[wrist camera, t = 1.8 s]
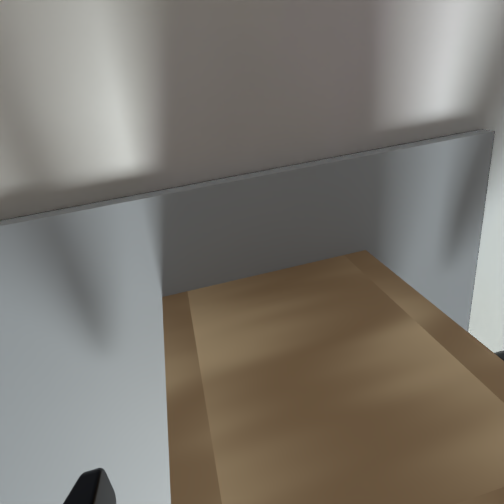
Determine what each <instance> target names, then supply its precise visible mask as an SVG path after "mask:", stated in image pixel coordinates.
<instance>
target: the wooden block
mask: <svg viewBox="0 0 504 504" xmlns="http://www.w3.org/2000/svg"><path fill="white" fill-rule="evenodd" d="M162 306H163V330H164V353H165V377H166V400H167V423H168V447H169V470H170V493H171V504H504V361H503V360H502V359H501V358H499V357H498V356H497V355H496V354H494V353H493V352H492V351H491V350H489V349H488V348H487V347H486V346H484V345H483V344H482V343H481V342H479V341H478V340H477V339H476V338H474V337H473V336H472V335H471V334H470V333H468V332H467V331H466V330H465V329H463V328H462V327H461V326H460V325H458V324H457V323H456V322H455V321H453V320H452V319H451V318H450V317H448V316H447V315H446V314H445V313H443V312H442V311H441V310H440V309H438V308H437V307H436V306H435V305H433V304H432V303H431V302H430V301H429V300H427V299H426V298H425V297H424V296H422V295H421V294H420V293H419V292H417V291H416V290H415V289H414V288H412V287H411V286H410V285H409V284H407V283H406V282H405V281H404V280H402V279H401V278H400V277H399V276H397V275H396V274H395V273H394V272H393V271H391V270H390V269H389V268H388V267H386V266H385V265H384V264H383V263H381V262H380V261H379V260H378V259H376V258H375V257H374V256H373V255H371V254H370V253H369V252H368V251H366V250H364V251H359V252H355V253H351V254H346V255H342V256H338V257H333V258H329V259H325V260H320V261H316V262H312V263H307V264H303V265H299V266H294V267H290V268H286V269H281V270H277V271H273V272H268V273H264V274H260V275H255V276H251V277H247V278H242V279H238V280H234V281H229V282H225V283H221V284H217V285H212V286H208V287H204V288H199V289H195V290H191V291H186V292H182V293H178V294H173V295H169V296H165V297H162Z"/></svg>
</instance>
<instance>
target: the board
mask: <svg viewBox="0 0 504 504" xmlns="http://www.w3.org/2000/svg"><path fill="white" fill-rule="evenodd" d="M494 134H495V131H490V130H484V129H481V130H476V131H471V132H465V133H460V134H455V135H450V136H444V137H439V138H434V139H429V140H423V141H418V142H413V143H408V144H402V145H397V146H392V147H386V148H381V149H376V150H371V151H365V152H360V153H355V154H350V155H344V156H339V157H334V158H329V159H323V160H318V161H313V162H307V163H302V164H297V165H292V166H286V167H281V168H276V169H271V170H265V171H260V172H255V173H250V174H244V175H239V176H234V177H228V178H223V179H218V180H213V181H207V182H202V183H197V184H192V185H186V186H181V187H176V188H171V189H165V190H160V191H155V192H149V193H144V194H139V195H134V196H128V197H123V198H118V199H113V200H107V201H102V202H97V203H92V204H86V205H81V206H76V207H70V208H65V209H60V210H55V211H49V212H44V213H39V214H34V215H28V216H23V217H18V218H13V219H7V220H2V221H0V504H63V503H64V501H65V499H66V498H67V496H68V494H69V493H70V491H71V490H72V488H73V486H74V485H75V483H76V481H77V480H78V478H79V477H80V475H81V474H82V473H84V472H86V471H90V470H93V469H96V468H103V469H104V470H105V471H106V474H107V476H108V478H109V480H110V482H111V485H112V487H113V489H114V491H115V495H116V504H171V493H170V470H169V447H168V423H167V400H166V377H165V353H164V330H163V306H162V297H165V296H169V295H173V294H178V293H182V292H186V291H191V290H195V289H199V288H204V287H208V286H212V285H217V284H221V283H225V282H229V281H234V280H238V279H242V278H247V277H251V276H255V275H260V274H264V273H268V272H273V271H277V270H281V269H286V268H290V267H294V266H299V265H303V264H307V263H312V262H316V261H320V260H325V259H329V258H333V257H338V256H342V255H346V254H351V253H355V252H359V251H364V250H366V251H368V252H369V253H370V254H371V255H373V256H374V257H375V258H376V259H378V260H379V261H380V262H381V263H383V264H384V265H385V266H386V267H388V268H389V269H390V270H391V271H393V272H394V273H395V274H396V275H397V276H399V277H400V278H401V279H402V280H404V281H405V282H406V283H407V284H409V285H410V286H411V287H412V288H414V289H415V290H416V291H417V292H419V293H420V294H421V295H422V296H424V297H425V298H426V299H427V300H429V301H430V302H431V303H432V304H433V305H435V306H436V307H437V308H438V309H440V310H441V311H442V312H443V313H445V314H446V315H447V316H448V317H450V318H451V319H452V320H453V321H455V322H456V323H457V324H458V325H460V326H461V327H462V328H463V329H465V330H466V331H467V332H468V327H469V319H470V312H471V304H472V297H473V290H474V282H475V275H476V267H477V260H478V253H479V245H480V238H481V230H482V223H483V215H484V208H485V201H486V193H487V186H488V178H489V171H490V163H491V156H492V149H493V141H494Z"/></svg>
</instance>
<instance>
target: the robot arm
mask: <svg viewBox="0 0 504 504" xmlns="http://www.w3.org/2000/svg"><path fill="white" fill-rule="evenodd" d="M494 354H496V355H497V356H498V357H499V358H501V359H502V360H503V361H504V351H499V352H496V353H494ZM63 504H116V495H115V491H114V489H113V487H112V485H111V482H110V480H109V478H108V476H107V474H106V471H105V470H104V469H103V468H96V469H93V470H90V471H86V472H84V473H82V474H81V475H80V477H79V478H78V480H77V481H76V483H75V485H74V486H73V488H72V490H71V491H70V493H69V494H68V496H67V498H66V499H65V501H64V503H63Z"/></svg>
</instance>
